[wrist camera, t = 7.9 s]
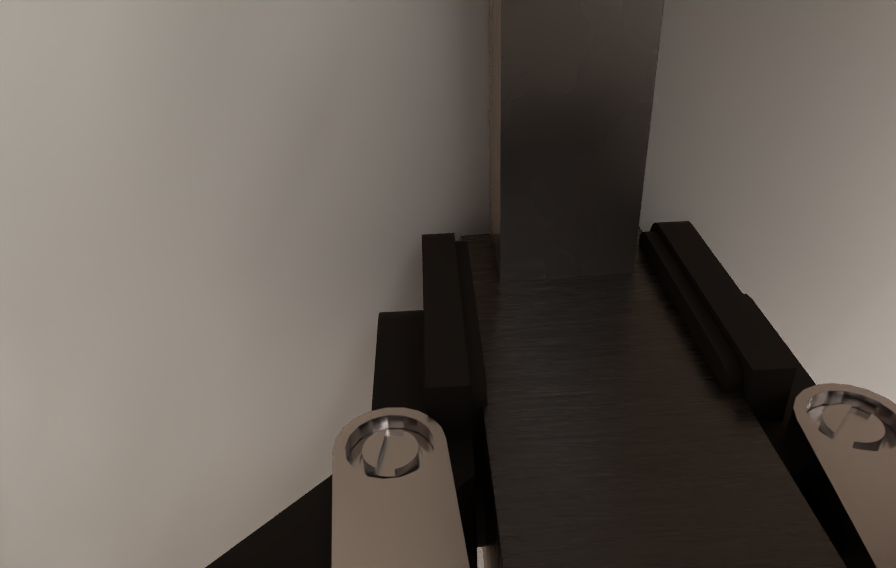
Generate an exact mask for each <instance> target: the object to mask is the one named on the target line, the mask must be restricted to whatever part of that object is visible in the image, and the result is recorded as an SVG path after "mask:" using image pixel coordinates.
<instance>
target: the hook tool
mask: <svg viewBox="0 0 896 568" xmlns="http://www.w3.org/2000/svg"><path fill="white" fill-rule="evenodd" d="M663 6H664V0H489V34H490V207H491V234H485V235H466V236H461V241H467V242H468V249H469V257H470V264H471V271H472V278H473V285H474V293H475V300H476V307H477V314H478V322H479V329H480V336H481V343H482V350H483V358H484V365H485V373H486V383H487V401H488V406H483V454H484V528H485V546H484V547H483V557H484V567H485V568H847V567H846V566H845V564H844V562H843V561H842V559H841V557H840V556H839V554H838V552H837V551H836V549H835V547H834V546H833V544H832V543H831V541H830V539H829V538H828V536H827V534H826V533H825V531H824V529H823V528H822V526H821V524H820V523H819V521H818V520H817V518H816V516H815V515H814V513H813V511H812V510H811V508H810V506H809V505H808V503H807V501H806V500H805V498H804V496H803V495H802V493H801V492H800V490H799V488H798V487H797V485H796V483H795V482H794V480H793V478H792V477H791V475H790V473H789V472H788V470H787V469H786V467H785V465H784V464H783V462H782V460H781V459H780V457H779V455H778V454H777V452H776V450H775V449H774V447H773V446H772V444H771V442H770V441H769V439H768V437H767V436H766V434H765V432H764V431H763V429H762V427H761V426H760V424H759V423H758V421H757V419H756V418H755V416H754V414H753V413H752V411H751V409H750V408H749V406H748V404H747V403H746V401H745V400H744V398H743V396H742V395H741V393H740V392H726V393H725V392H724V390H723V388H722V387H721V385H720V383H719V381H718V380H717V378H716V376H715V374H714V373H713V371H712V369H711V368H710V366H709V364H708V362H707V361H706V359H705V357H704V355H703V354H702V352H701V350H700V348H699V347H698V345H697V343H696V341H695V340H694V338H693V336H692V334H691V333H690V331H689V329H688V327H687V326H686V324H685V322H684V321H683V319H682V317H681V315H680V314H679V312H678V310H677V308H676V307H675V305H674V303H673V301H672V300H671V298H670V296H669V294H668V293H667V291H666V289H665V287H664V286H663V284H662V282H661V281H660V279H659V277H658V275H657V274H656V272H655V270H654V268H653V267H652V265H651V263H650V261H649V260H648V258H647V256H646V254H645V253H644V251H643V249H642V247H641V246H640V244H639V237H640V234H641V233H642V230H641V229H640V227H639V218H640V209H641V201H642V192H643V183H644V174H645V165H646V156H647V148H648V139H649V130H650V121H651V112H652V103H653V95H654V86H655V77H656V68H657V59H658V50H659V42H660V33H661V24H662V15H663Z"/></svg>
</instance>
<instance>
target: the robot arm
mask: <svg viewBox="0 0 896 568" xmlns="http://www.w3.org/2000/svg"><path fill="white" fill-rule="evenodd" d="M639 244H640V246H641V247H642V249H643V251H644V253H645V254H646V256H647V258H648V260H649V261H650V263H651V265H652V267H653V268H654V270H655V272H656V274H657V275H658V277H659V279H660V281H661V282H662V284H663V286H664V287H665V289H666V291H667V293H668V294H669V296H670V298H671V300H672V301H673V303H674V305H675V307H676V308H677V310H678V312H679V314H680V315H681V317H682V319H683V321H684V322H685V324H686V326H687V327H688V329H689V331H690V333H691V334H692V336H693V338H694V340H695V341H696V343H697V345H698V347H699V348H700V350H701V352H702V354H703V355H704V357H705V359H706V361H707V362H708V364H709V366H710V368H711V369H712V371H713V373H714V374H715V376H716V378H717V380H718V381H719V383H720V385H721V387H722V388H723V390H724V392H725V393H726V392H740V393H741V395H742V396H743V398H744V400H745V401H746V403H747V404H748V406H749V408H750V409H751V411H752V413H753V414H754V416H755V418H756V419H757V421H758V423H759V424H760V426H761V427H762V429H763V431H764V432H765V434H766V436H767V437H768V439H769V441H770V442H771V444H772V446H773V447H774V449H775V450H776V452H777V454H778V455H779V457H780V459H781V460H782V462H783V464H784V465H785V467H786V469H787V470H788V472H789V473H790V475H791V477H792V478H793V480H794V482H795V483H796V485H797V487H798V488H799V490H800V492H801V493H802V495H803V496H804V498H805V500H806V501H807V503H808V505H809V506H810V508H811V510H812V511H813V513H814V515H815V516H816V518H817V520H818V521H819V523H820V524H821V526H822V528H823V529H824V531H825V533H826V534H827V536H828V538H829V539H830V541H831V543H832V544H833V546H834V547H835V549H836V551H837V552H838V554H839V556H840V557H841V559H842V561H843V562H844V564H845V566H846V567H847V568H896V404H895V403H893V402H892V401H890V400H889V399H887V398H885V397H883V396H881V395H879V394H876V393H874V392H872V391H870V390H867V389H863V388H859V387H855V386H852V385H845V384H834V383H829V384H820V385H816V384H815V383H814V381H813V380H812V379H811V377H810V376H809V375H808V373H807V372H806V371H805V369H804V368H803V367H802V365H801V364H800V363H799V361H798V360H797V359H796V357H795V356H794V355H793V353H792V352H791V351H790V349H789V348H788V346H787V345H786V344H785V342H784V341H783V340H782V338H781V337H780V336H779V334H778V333H777V332H776V330H775V329H774V328H773V326H772V325H771V324H770V322H769V321H768V320H767V318H766V317H765V316H764V314H763V313H762V312H761V310H760V309H759V308H758V306H757V305H756V304H755V302H754V301H753V300H752V299H751V298H750V297H749V296H748V295H747V294H743V293H742V292H741V291H740V289H739V288H738V287H737V285H736V284H735V283H734V281H733V280H732V278H731V277H730V276H729V274H728V273H727V272H726V270H725V269H724V268H723V266H722V265H721V263H720V262H719V261H718V259H717V258H716V257H715V255H714V254H713V253H712V251H711V250H710V249H709V247H708V246H707V244H706V243H705V242H704V240H703V239H702V238H701V236H700V235H699V234H698V232H697V231H696V229H695V228H694V227H693V225H692V224H691V223H690V222H689V221H681V222H661V223H654V224H653V225H652V227H651V229H650V232H642V233H641V234H640V237H639ZM422 261H423V303H424V310H418V311H399V312H380V313H379V317H378V330H377V343H376V357H375V371H374V385H373V399H372V411H370V412H368V413H365V414H363V415H361V416H359V417H357V418H355V419H354V420H352V421H351V422H350V423H349V424H347V425H346V426H345V427H344V428H343V429H342V431H341V432H340V434H339V435H338V436H337V438H336V440H335V444H334V448H333V474H332V475H331V476H330V477H328V478H327V479H326V480H324V481H323V482H321V483H320V484H319V485H317V486H316V487H315V488H313V489H312V490H311V491H309V492H308V493H306V494H305V495H304V496H302V497H301V498H300V499H298V500H297V501H296V502H294V503H293V504H291V505H290V506H289V507H287V508H286V509H285V510H283V511H282V512H281V513H279V514H278V515H276V516H275V517H274V518H272V519H271V520H270V521H268V522H267V523H266V524H264V525H263V526H261V527H260V528H259V529H257V530H256V531H255V532H253V533H252V534H251V535H249V536H248V537H246V538H245V539H244V540H242V541H241V542H240V543H238V544H237V545H236V546H234V547H233V548H231V549H230V550H229V551H227V552H226V553H225V554H223V555H222V556H221V557H219V558H218V559H216V560H215V561H214V562H212V563H211V564H210V565H208V566H207V567H205V568H477V547H484V546H485V528H484V454H483V406H488V401H487V383H486V373H485V365H484V358H483V350H482V343H481V336H480V329H479V322H478V314H477V307H476V300H475V293H474V285H473V278H472V271H471V264H470V257H469V249H468V242H467V241H455V237H454V233H445V234H426V235H422Z"/></svg>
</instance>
